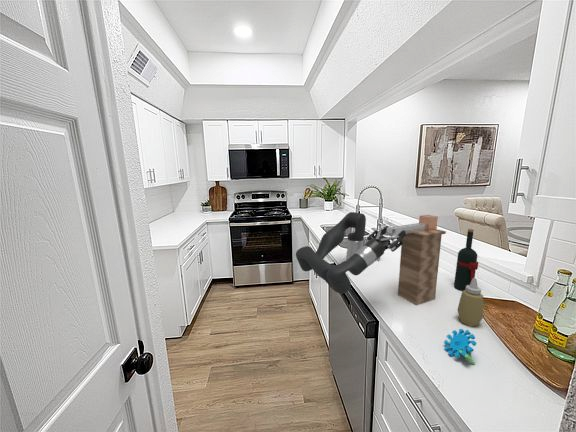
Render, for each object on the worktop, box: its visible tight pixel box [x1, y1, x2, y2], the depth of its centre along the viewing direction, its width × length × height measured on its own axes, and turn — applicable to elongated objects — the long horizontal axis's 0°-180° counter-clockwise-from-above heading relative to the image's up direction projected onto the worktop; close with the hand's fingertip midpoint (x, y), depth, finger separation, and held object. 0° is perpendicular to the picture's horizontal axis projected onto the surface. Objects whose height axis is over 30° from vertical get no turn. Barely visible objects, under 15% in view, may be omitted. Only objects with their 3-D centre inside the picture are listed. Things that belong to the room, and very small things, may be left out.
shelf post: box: [397, 228, 447, 306], centre depth 113 cm, size 14×12×32 cm
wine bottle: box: [453, 228, 479, 292], centre depth 119 cm, size 8×10×30 cm
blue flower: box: [443, 328, 477, 365], centre depth 80 cm, size 11×6×10 cm
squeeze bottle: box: [456, 277, 484, 327], centre depth 95 cm, size 8×8×18 cm
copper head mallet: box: [385, 214, 439, 237], centre depth 107 cm, size 26×5×6 cm, turn 114°
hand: (396, 229), depth 103 cm, fingers open, 8 cm apart
